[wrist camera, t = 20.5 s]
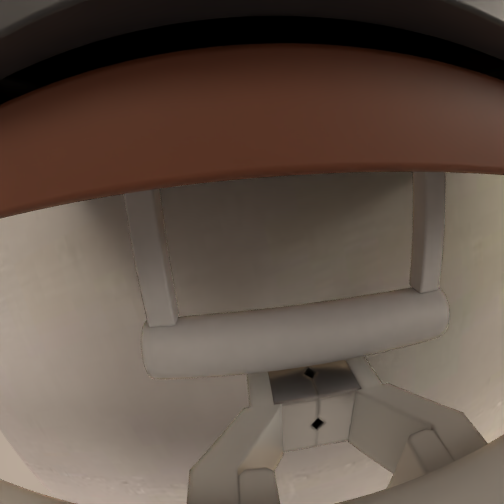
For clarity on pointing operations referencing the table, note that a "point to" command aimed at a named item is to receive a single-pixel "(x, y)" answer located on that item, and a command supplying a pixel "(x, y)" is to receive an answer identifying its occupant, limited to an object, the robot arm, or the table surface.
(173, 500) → the table surface
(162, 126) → the drawer
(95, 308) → the table surface
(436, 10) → the cabinet
